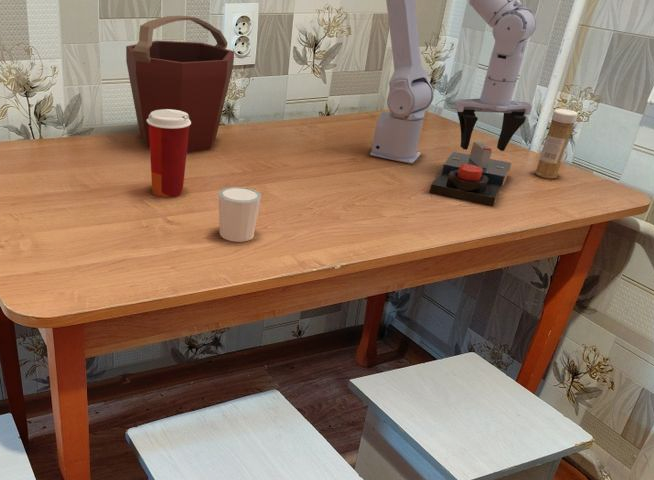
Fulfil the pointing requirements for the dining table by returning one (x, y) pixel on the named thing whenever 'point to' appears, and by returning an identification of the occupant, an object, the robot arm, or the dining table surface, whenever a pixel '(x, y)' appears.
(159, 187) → the paper cup
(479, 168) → the red button
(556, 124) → the spice jar
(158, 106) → the bucket
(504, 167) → the base
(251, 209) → the white tapered cup
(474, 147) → the tap lever
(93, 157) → the dining table surface
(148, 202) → the dining table surface
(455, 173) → the button box
